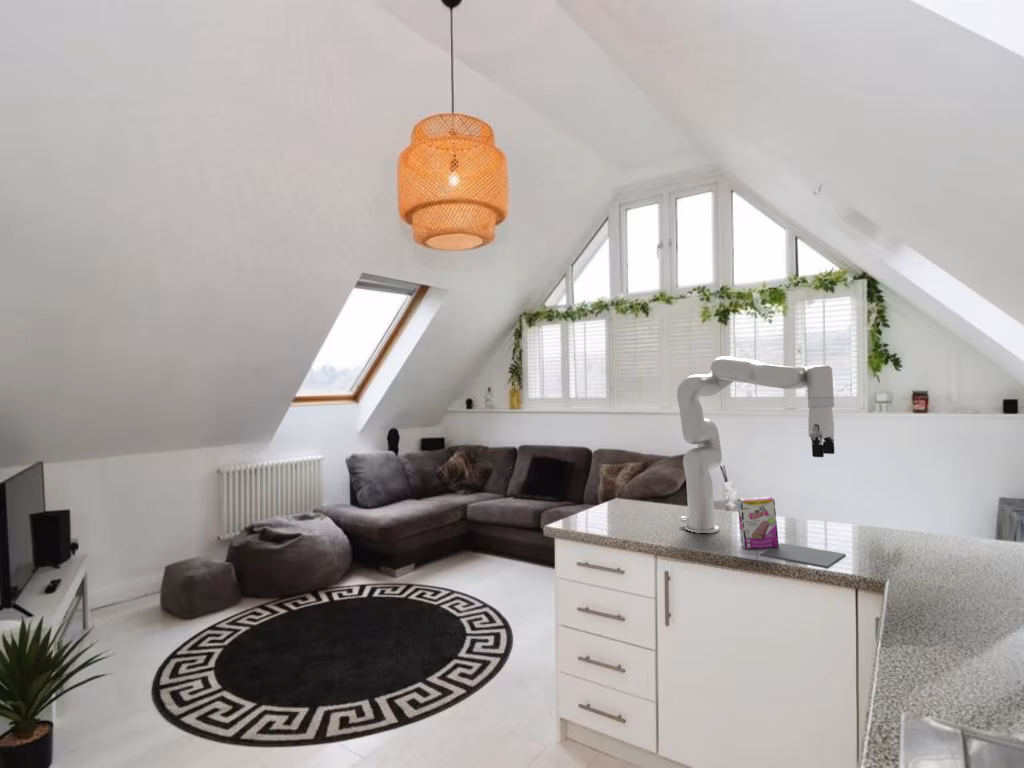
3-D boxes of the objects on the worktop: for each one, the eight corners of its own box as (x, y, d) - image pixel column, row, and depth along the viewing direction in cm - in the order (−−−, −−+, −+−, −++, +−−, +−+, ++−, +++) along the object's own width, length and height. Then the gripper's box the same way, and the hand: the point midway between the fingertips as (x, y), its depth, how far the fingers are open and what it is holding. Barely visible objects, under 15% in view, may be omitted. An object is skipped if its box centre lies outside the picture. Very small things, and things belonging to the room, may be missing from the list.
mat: (760, 555, 182) (760, 553, 182) (780, 544, 193) (780, 543, 193) (827, 567, 167) (827, 566, 167) (845, 555, 178) (845, 553, 178)
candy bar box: (745, 550, 188) (740, 500, 189) (741, 546, 193) (735, 498, 194) (780, 547, 187) (774, 498, 188) (774, 544, 192) (769, 496, 193)
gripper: (818, 402, 192) (820, 451, 192) (798, 404, 181) (801, 457, 181) (842, 401, 187) (845, 453, 187) (823, 404, 175) (826, 459, 175)
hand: (823, 455), depth 184 cm, fingers open, 9 cm apart
